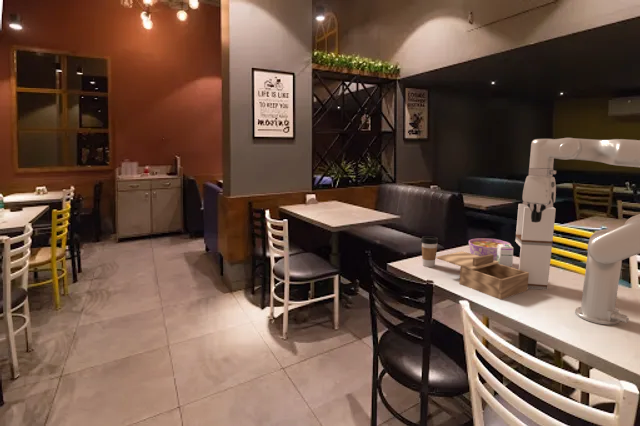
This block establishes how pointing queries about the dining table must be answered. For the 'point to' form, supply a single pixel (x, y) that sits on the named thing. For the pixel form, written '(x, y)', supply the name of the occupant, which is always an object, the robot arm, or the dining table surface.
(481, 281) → the wooden box
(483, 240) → the bowl of food
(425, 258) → the coffee cup
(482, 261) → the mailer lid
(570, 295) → the dining table surface
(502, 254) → the syrup box
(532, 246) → the tall white box
